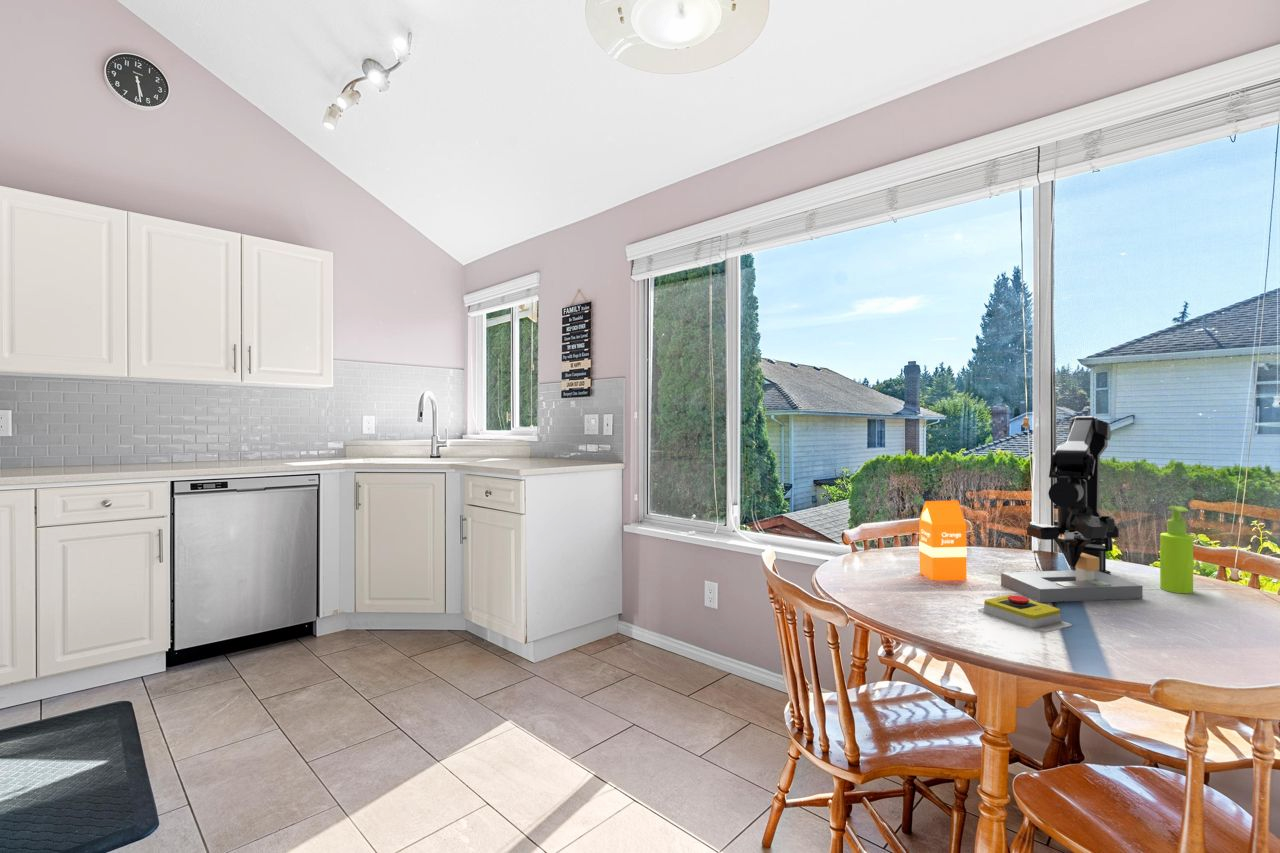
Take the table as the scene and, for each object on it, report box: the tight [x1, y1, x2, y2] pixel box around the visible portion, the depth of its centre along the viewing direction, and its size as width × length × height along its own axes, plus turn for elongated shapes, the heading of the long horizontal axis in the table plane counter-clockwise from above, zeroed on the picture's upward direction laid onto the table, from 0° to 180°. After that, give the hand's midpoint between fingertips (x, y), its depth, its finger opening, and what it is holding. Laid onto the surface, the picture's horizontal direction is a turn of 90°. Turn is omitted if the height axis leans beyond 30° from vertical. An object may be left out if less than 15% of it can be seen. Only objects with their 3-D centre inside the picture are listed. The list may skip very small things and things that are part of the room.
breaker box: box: [1000, 569, 1144, 603], centre depth 145 cm, size 24×14×3 cm, turn 92°
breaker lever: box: [1075, 553, 1099, 581], centre depth 145 cm, size 3×5×7 cm, turn 2°
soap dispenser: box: [1159, 505, 1194, 594], centre depth 144 cm, size 6×7×20 cm
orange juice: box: [918, 500, 968, 581], centre depth 160 cm, size 8×9×20 cm
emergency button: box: [977, 594, 1073, 633], centre depth 128 cm, size 9×4×15 cm
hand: (1072, 566), depth 145 cm, fingers closed
